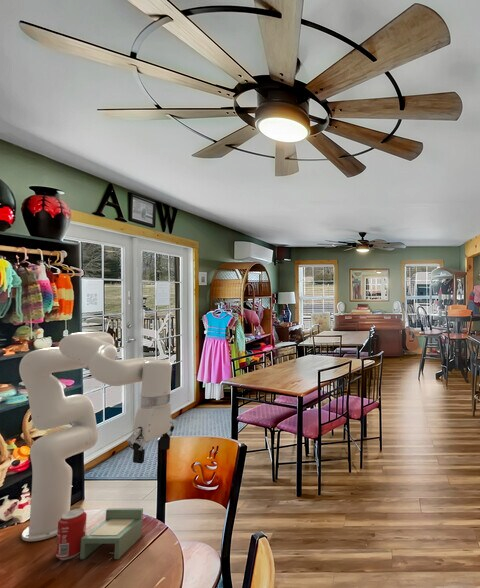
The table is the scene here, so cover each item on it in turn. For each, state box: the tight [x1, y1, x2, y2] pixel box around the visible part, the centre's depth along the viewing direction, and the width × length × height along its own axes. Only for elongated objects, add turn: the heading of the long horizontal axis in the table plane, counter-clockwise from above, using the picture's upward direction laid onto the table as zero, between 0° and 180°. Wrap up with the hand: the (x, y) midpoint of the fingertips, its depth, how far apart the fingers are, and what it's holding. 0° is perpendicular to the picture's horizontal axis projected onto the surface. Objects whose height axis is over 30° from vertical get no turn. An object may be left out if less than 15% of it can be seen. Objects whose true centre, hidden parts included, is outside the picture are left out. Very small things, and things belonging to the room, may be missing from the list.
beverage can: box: [55, 508, 88, 561], centre depth 102 cm, size 6×6×12 cm
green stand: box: [79, 507, 144, 560], centre depth 106 cm, size 11×10×9 cm
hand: (152, 455), depth 106 cm, fingers open, 9 cm apart
